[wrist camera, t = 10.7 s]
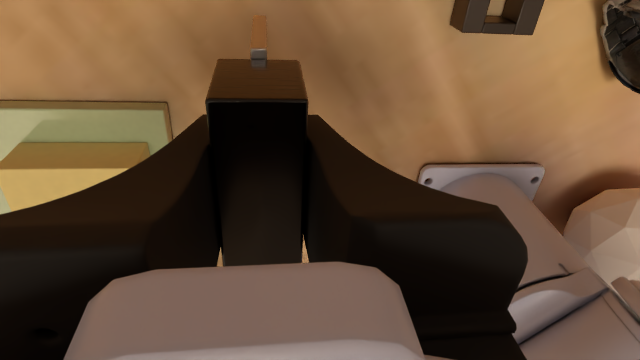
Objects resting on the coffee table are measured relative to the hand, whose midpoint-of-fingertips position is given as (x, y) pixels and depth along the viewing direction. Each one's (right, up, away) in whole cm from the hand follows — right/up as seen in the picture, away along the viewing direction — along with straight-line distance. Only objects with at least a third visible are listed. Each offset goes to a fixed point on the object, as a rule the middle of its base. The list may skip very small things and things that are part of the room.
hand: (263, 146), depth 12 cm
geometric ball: (+18, -3, +15) cm, 24 cm away
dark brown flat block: (0, +2, +2) cm, 3 cm away
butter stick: (-10, 0, +10) cm, 14 cm away
